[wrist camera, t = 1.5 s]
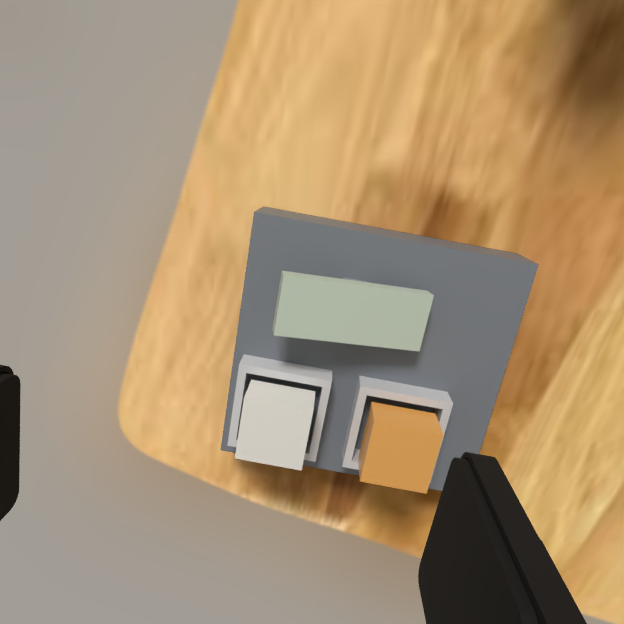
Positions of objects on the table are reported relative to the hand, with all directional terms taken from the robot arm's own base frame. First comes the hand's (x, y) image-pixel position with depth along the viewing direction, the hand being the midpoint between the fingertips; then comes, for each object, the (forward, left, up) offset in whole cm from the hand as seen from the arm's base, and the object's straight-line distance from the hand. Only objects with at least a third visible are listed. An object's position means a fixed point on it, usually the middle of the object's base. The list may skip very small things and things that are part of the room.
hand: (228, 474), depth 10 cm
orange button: (-9, -2, -14) cm, 16 cm away
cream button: (-5, +3, -14) cm, 15 cm away
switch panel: (-5, -2, -18) cm, 19 cm away
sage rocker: (-2, -2, -14) cm, 14 cm away
